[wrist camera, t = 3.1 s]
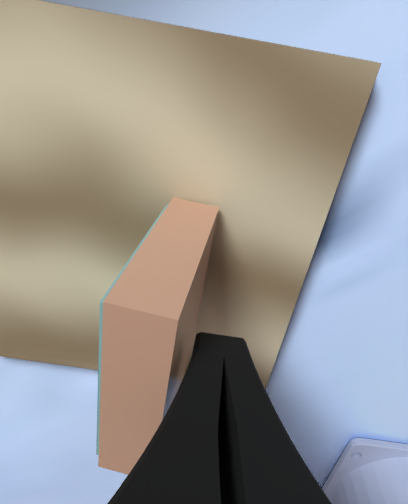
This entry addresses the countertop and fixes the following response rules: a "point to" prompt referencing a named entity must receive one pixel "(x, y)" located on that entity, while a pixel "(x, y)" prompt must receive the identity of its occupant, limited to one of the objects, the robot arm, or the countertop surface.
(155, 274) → the tile
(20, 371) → the countertop surface
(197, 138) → the board
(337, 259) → the countertop surface
